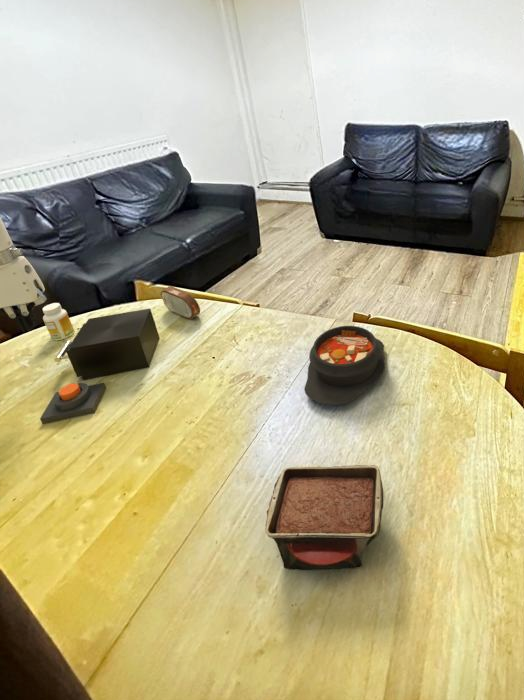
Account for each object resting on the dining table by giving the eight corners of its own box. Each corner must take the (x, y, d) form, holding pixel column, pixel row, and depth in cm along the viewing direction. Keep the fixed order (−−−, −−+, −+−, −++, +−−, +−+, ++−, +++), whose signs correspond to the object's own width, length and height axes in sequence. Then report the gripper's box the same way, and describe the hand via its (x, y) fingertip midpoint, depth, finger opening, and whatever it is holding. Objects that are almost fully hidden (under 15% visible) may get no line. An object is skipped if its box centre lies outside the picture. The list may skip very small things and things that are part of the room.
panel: (42, 424, 89) (36, 412, 87) (58, 397, 96) (52, 386, 94) (94, 413, 91) (89, 401, 90) (106, 387, 98) (101, 376, 97)
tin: (203, 318, 124) (197, 294, 120) (194, 323, 121) (187, 299, 118) (172, 305, 131) (165, 282, 127) (163, 310, 128) (156, 287, 125)
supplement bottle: (73, 327, 122) (62, 299, 118) (75, 335, 118) (63, 306, 114) (51, 334, 119) (38, 306, 115) (52, 343, 115) (39, 314, 111)
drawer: (56, 381, 100) (44, 355, 96) (75, 351, 110) (64, 327, 107) (138, 365, 104) (129, 339, 101) (148, 337, 114) (140, 314, 111)
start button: (58, 402, 90) (55, 396, 90) (65, 391, 93) (62, 385, 93) (77, 398, 91) (74, 392, 90) (83, 387, 94) (80, 381, 94)
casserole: (336, 334, 114) (334, 308, 110) (400, 348, 107) (399, 321, 104) (285, 399, 93) (280, 370, 89) (361, 421, 86) (358, 391, 83)
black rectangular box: (83, 380, 101) (69, 348, 97) (100, 348, 112) (88, 318, 108) (149, 367, 104) (138, 336, 100) (159, 337, 116) (150, 308, 112)
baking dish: (298, 488, 75) (281, 454, 71) (394, 486, 72) (382, 450, 68) (272, 583, 63) (250, 549, 58) (387, 585, 60) (372, 549, 55)
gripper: (42, 244, 93) (72, 312, 101) (-38, 256, 89) (0, 326, 97) (27, 258, 86) (60, 330, 94) (-60, 272, 83) (-18, 345, 90)
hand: (29, 327), depth 95 cm, fingers closed
